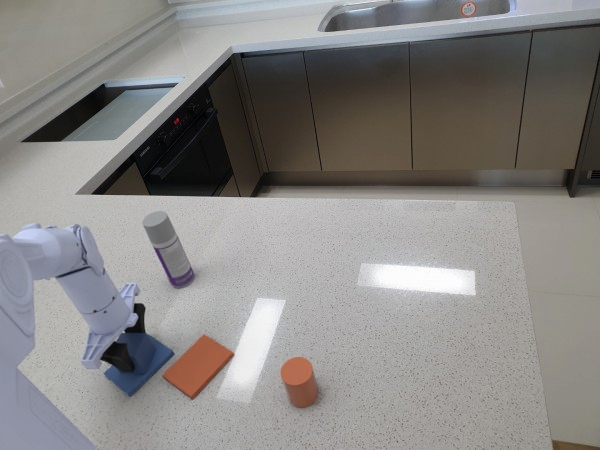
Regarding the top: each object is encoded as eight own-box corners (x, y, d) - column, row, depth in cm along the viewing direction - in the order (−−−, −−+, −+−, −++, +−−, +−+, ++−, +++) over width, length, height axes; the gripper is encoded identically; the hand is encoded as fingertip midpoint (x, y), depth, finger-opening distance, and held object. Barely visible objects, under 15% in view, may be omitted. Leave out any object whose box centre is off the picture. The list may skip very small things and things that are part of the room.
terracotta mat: (192, 399, 67) (190, 396, 67) (163, 378, 71) (161, 375, 71) (234, 355, 73) (233, 352, 72) (205, 337, 76) (203, 334, 76)
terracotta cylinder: (306, 413, 63) (299, 390, 59) (281, 397, 65) (273, 375, 62) (324, 388, 65) (318, 365, 62) (300, 374, 68) (293, 351, 64)
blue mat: (130, 397, 70) (128, 394, 69) (105, 376, 74) (103, 373, 73) (174, 353, 75) (173, 350, 74) (149, 336, 79) (147, 333, 78)
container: (170, 275, 90) (140, 215, 81) (193, 267, 91) (166, 207, 82) (172, 291, 87) (141, 230, 78) (196, 283, 87) (168, 221, 78)
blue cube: (145, 374, 72) (134, 356, 69) (120, 373, 73) (108, 356, 70) (156, 350, 75) (146, 332, 72) (131, 350, 76) (120, 332, 73)
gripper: (98, 340, 58) (139, 399, 67) (143, 261, 69) (173, 320, 78) (50, 340, 60) (96, 397, 68) (101, 263, 71) (136, 320, 79)
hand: (135, 356), depth 73 cm, fingers closed on blue cube, 4 cm apart
